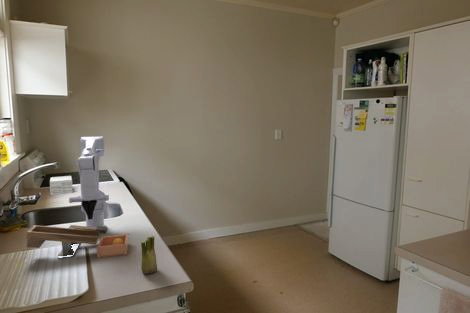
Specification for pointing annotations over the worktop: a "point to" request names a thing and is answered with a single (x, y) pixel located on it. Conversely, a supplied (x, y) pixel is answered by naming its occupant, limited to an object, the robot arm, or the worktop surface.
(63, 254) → the stand
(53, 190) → the white napkin stack
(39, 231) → the wooden tray
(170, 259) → the worktop surface
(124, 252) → the open box
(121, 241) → the ball
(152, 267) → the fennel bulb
